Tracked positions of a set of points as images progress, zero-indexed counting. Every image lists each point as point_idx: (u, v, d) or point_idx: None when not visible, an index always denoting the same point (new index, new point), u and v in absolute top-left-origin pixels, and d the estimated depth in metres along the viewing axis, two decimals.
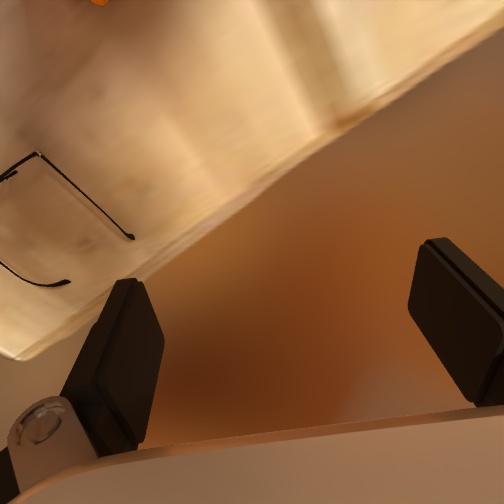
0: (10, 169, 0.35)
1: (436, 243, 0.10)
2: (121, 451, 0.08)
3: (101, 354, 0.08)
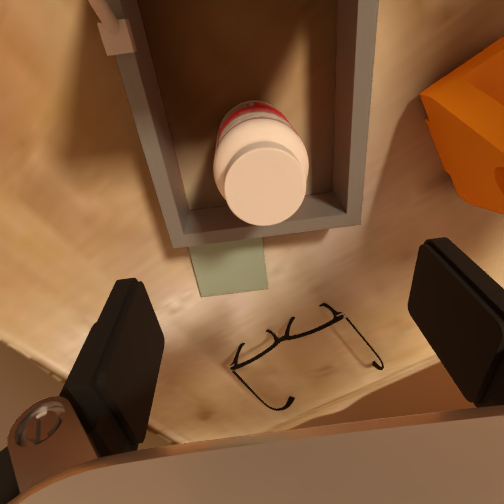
0: (315, 331, 0.36)
1: (436, 243, 0.10)
2: (121, 451, 0.08)
3: (101, 354, 0.08)
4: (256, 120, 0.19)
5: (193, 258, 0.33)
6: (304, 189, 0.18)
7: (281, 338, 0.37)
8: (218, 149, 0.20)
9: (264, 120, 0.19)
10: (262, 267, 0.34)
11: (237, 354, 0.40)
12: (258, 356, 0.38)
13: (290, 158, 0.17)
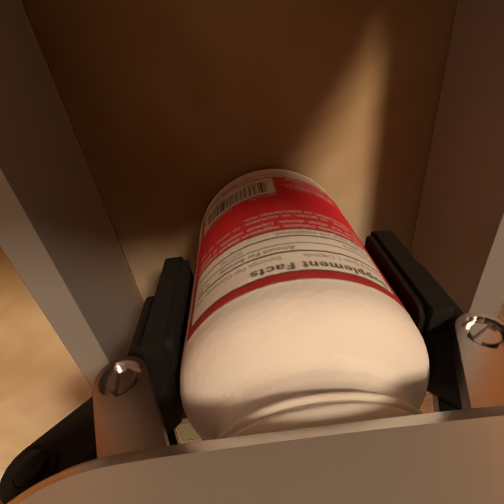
0: None
1: (379, 235, 0.10)
2: (182, 410, 0.09)
3: (166, 320, 0.08)
4: (299, 292, 0.06)
5: None
6: None
7: None
8: (190, 357, 0.07)
9: (323, 293, 0.06)
10: None
11: None
12: None
13: None
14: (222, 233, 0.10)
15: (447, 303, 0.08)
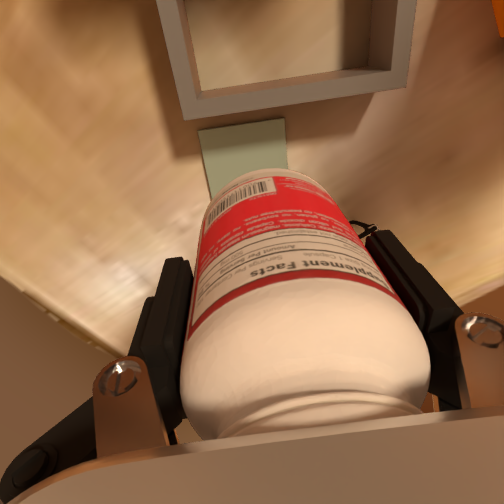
0: None
1: (378, 235, 0.10)
2: (182, 410, 0.09)
3: (166, 320, 0.08)
4: (300, 291, 0.06)
5: (205, 156, 0.29)
6: None
7: None
8: (190, 357, 0.07)
9: (324, 292, 0.06)
10: None
11: None
12: None
13: None
14: (222, 232, 0.10)
15: (447, 303, 0.08)
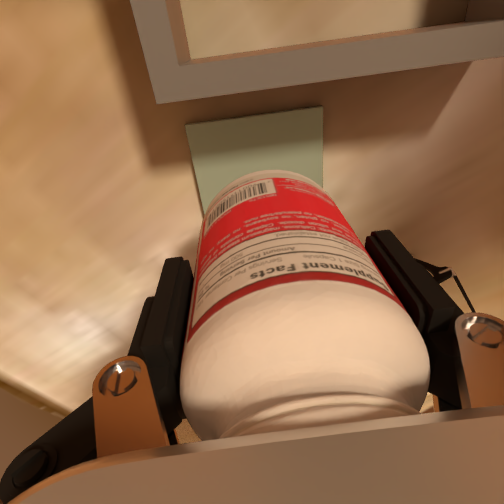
0: None
1: (378, 235, 0.10)
2: (182, 410, 0.09)
3: (166, 320, 0.08)
4: (299, 294, 0.06)
5: (197, 165, 0.19)
6: None
7: None
8: (190, 359, 0.07)
9: (323, 294, 0.06)
10: None
11: None
12: None
13: None
14: (222, 234, 0.10)
15: (447, 303, 0.08)
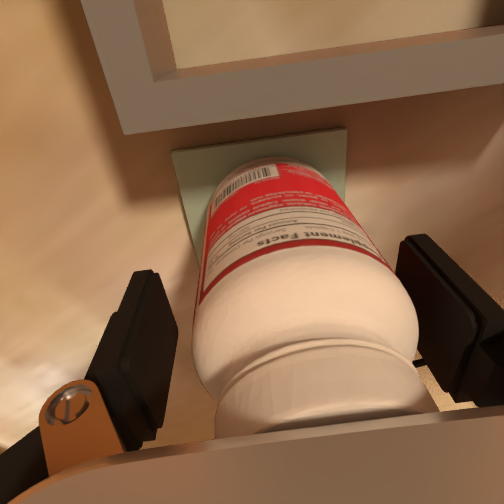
0: None
1: (415, 239, 0.10)
2: (143, 435, 0.08)
3: (124, 340, 0.08)
4: (302, 256, 0.07)
5: (187, 201, 0.15)
6: None
7: None
8: (202, 317, 0.08)
9: (323, 257, 0.07)
10: None
11: None
12: None
13: None
14: (229, 212, 0.11)
15: (502, 313, 0.07)
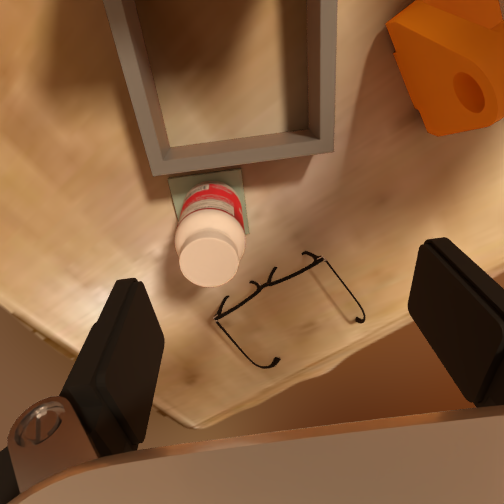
0: (297, 274, 0.36)
1: (436, 243, 0.10)
2: (121, 451, 0.08)
3: (101, 354, 0.08)
4: (204, 211, 0.26)
5: (175, 199, 0.34)
6: (237, 263, 0.25)
7: (264, 284, 0.38)
8: (177, 230, 0.27)
9: (210, 211, 0.26)
10: (242, 210, 0.35)
11: (221, 306, 0.41)
12: (241, 303, 0.38)
13: (225, 243, 0.24)
14: (189, 202, 0.30)
15: None
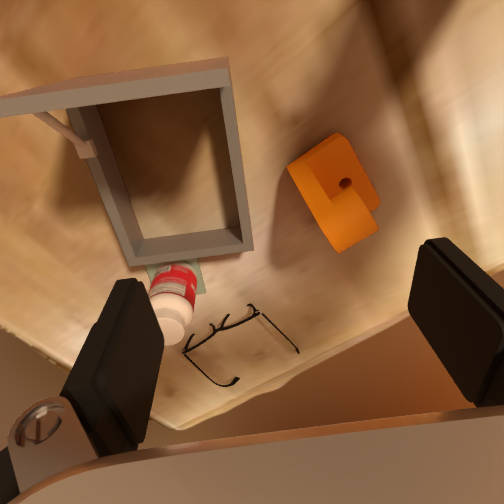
0: (240, 323, 0.49)
1: (436, 243, 0.10)
2: (121, 451, 0.08)
3: (101, 354, 0.08)
4: (162, 295, 0.39)
5: (149, 271, 0.47)
6: (183, 331, 0.38)
7: (217, 329, 0.51)
8: None
9: (166, 295, 0.39)
10: (199, 278, 0.48)
11: (188, 342, 0.54)
12: (201, 342, 0.51)
13: (173, 321, 0.37)
14: (155, 281, 0.42)
15: None
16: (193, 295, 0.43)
